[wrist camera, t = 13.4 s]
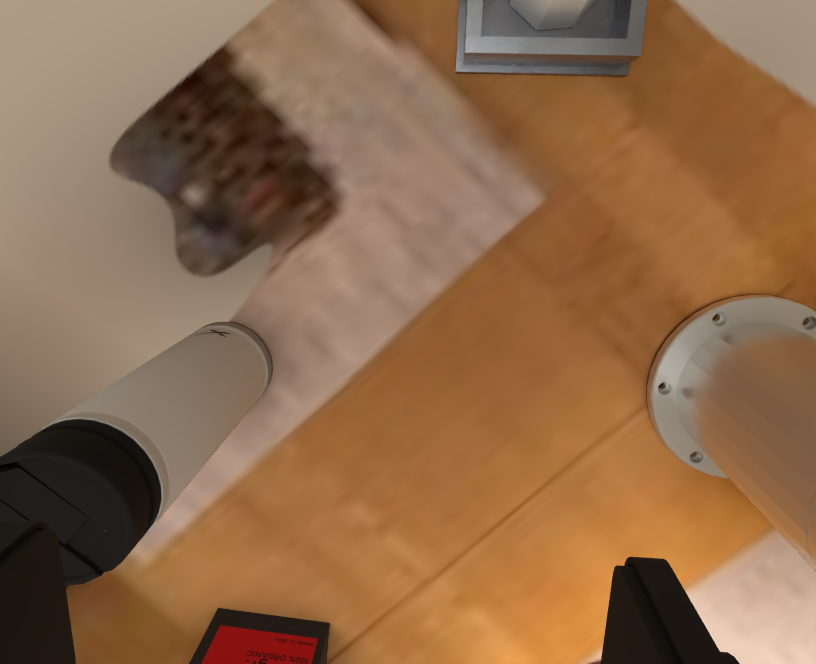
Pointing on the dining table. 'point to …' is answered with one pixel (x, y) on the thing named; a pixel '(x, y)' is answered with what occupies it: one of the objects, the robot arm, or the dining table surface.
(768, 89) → the dining table surface
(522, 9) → the pepper shaker
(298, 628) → the cleaning product box
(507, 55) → the grey square tray
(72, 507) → the travel mug
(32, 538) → the robot arm
